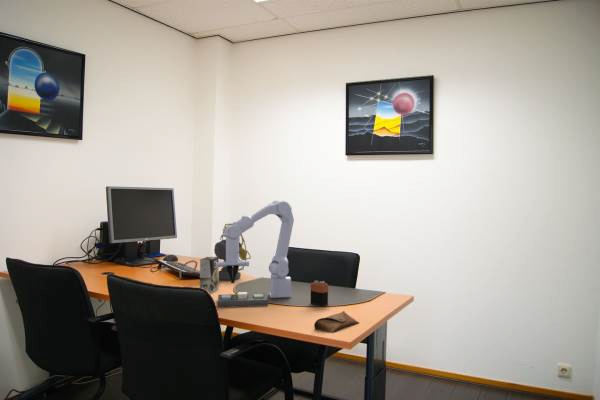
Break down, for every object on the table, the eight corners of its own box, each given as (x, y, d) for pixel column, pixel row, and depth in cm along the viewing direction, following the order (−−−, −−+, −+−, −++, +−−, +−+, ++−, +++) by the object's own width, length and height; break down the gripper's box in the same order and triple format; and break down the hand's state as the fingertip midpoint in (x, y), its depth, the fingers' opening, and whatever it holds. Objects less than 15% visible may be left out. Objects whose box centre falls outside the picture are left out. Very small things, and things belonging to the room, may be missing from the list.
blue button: (230, 301, 214) (230, 295, 214) (230, 304, 210) (230, 297, 210) (221, 302, 213) (221, 295, 213) (221, 304, 209) (221, 297, 209)
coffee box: (212, 293, 230) (212, 259, 229) (199, 292, 231) (199, 259, 231) (219, 289, 239) (219, 256, 238) (206, 288, 240) (206, 256, 240)
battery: (321, 306, 208) (322, 283, 207) (310, 303, 212) (310, 280, 212) (328, 304, 211) (328, 281, 211) (316, 301, 216) (316, 279, 215)
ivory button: (246, 298, 215) (246, 292, 215) (247, 300, 211) (247, 294, 211) (237, 299, 214) (237, 292, 214) (237, 301, 210) (237, 294, 210)
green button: (262, 300, 216) (262, 294, 216) (263, 303, 212) (263, 296, 212) (253, 301, 215) (253, 294, 215) (254, 303, 212) (254, 296, 211)
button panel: (265, 298, 220) (265, 293, 220) (267, 305, 208) (267, 299, 208) (218, 300, 217) (218, 294, 217) (217, 307, 205) (217, 301, 205)
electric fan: (252, 280, 261) (252, 224, 259) (195, 287, 243) (195, 227, 242) (230, 272, 282) (230, 221, 281) (177, 278, 264) (177, 223, 263)
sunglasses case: (332, 333, 171) (325, 315, 173) (319, 340, 175) (311, 322, 177) (361, 322, 184) (353, 305, 186) (347, 328, 188) (340, 312, 190)
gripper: (215, 254, 210) (216, 285, 211) (249, 253, 213) (249, 284, 213) (215, 251, 217) (216, 281, 218) (248, 250, 220) (248, 280, 220)
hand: (232, 282), depth 216 cm, fingers closed
